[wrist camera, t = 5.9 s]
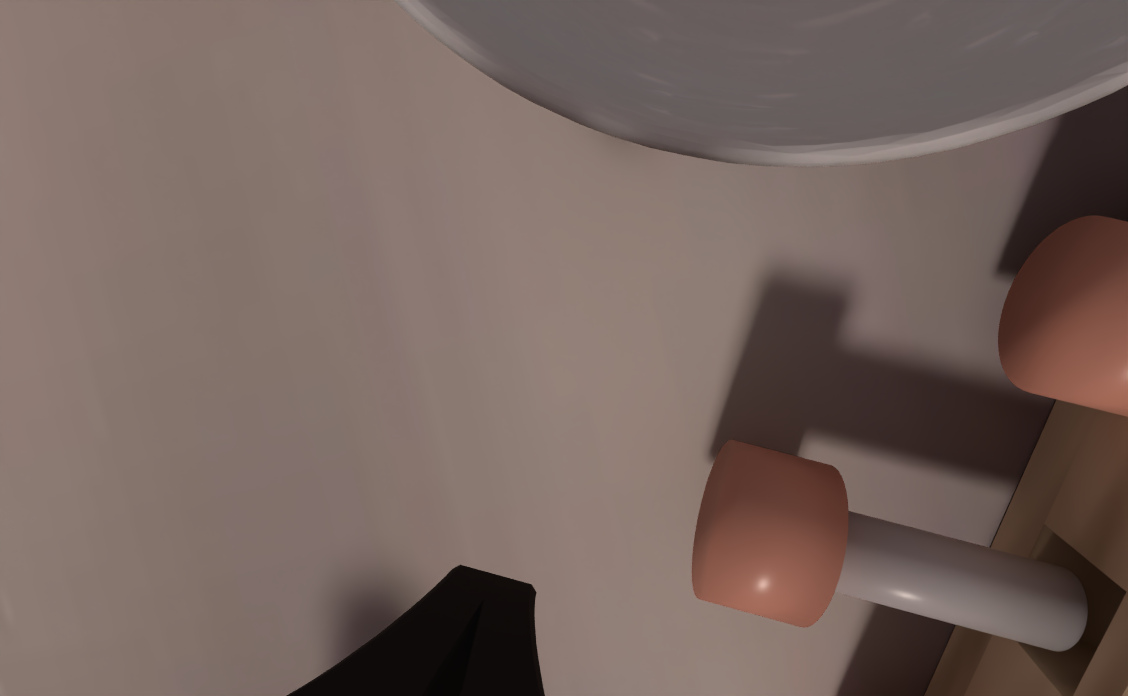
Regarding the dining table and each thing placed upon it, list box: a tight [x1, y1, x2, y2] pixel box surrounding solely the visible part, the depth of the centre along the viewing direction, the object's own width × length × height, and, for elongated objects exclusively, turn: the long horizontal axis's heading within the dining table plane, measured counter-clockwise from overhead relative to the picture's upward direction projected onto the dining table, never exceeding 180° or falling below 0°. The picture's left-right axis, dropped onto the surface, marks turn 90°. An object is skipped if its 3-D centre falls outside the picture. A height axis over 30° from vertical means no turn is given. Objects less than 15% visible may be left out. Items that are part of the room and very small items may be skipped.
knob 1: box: [692, 440, 1088, 652], centre depth 16 cm, size 8×4×4 cm, turn 77°
